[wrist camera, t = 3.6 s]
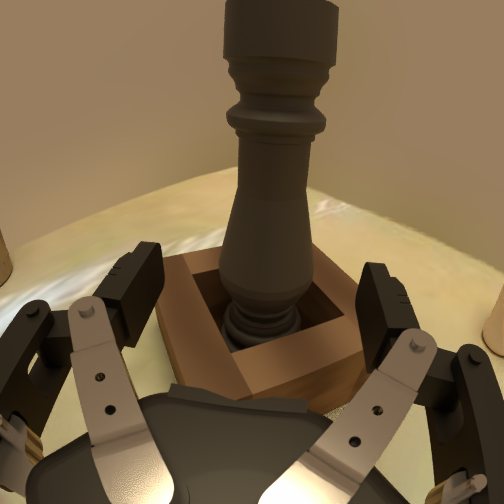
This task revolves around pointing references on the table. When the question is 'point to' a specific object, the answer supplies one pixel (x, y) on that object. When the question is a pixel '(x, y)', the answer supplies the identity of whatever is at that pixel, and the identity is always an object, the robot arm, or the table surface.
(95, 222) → the table surface
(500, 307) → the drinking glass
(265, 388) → the bore block
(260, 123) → the candle holder
